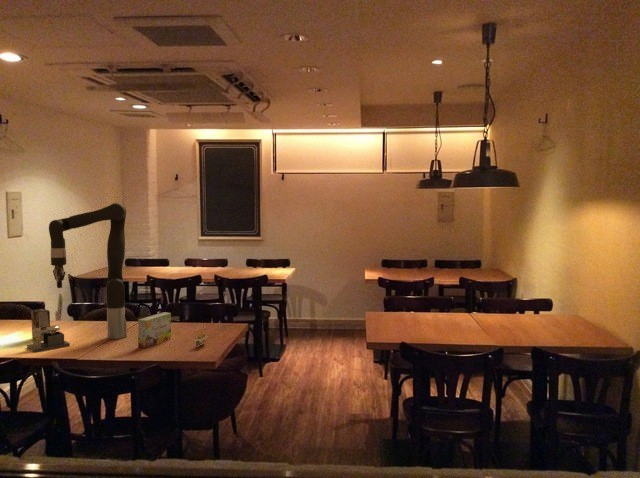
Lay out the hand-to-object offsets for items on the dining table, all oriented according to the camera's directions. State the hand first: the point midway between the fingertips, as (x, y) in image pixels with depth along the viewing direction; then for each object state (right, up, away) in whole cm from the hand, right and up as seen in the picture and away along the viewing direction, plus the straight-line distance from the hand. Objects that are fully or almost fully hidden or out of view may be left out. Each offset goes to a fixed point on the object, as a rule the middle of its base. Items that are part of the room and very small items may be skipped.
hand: (59, 287), depth 282 cm
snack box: (+54, -30, -4) cm, 61 cm away
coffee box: (-12, -29, +4) cm, 32 cm away
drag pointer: (-3, -25, -16) cm, 30 cm away
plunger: (0, -24, -12) cm, 27 cm away
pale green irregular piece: (+80, -31, -9) cm, 86 cm away
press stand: (0, -30, -12) cm, 32 cm away
